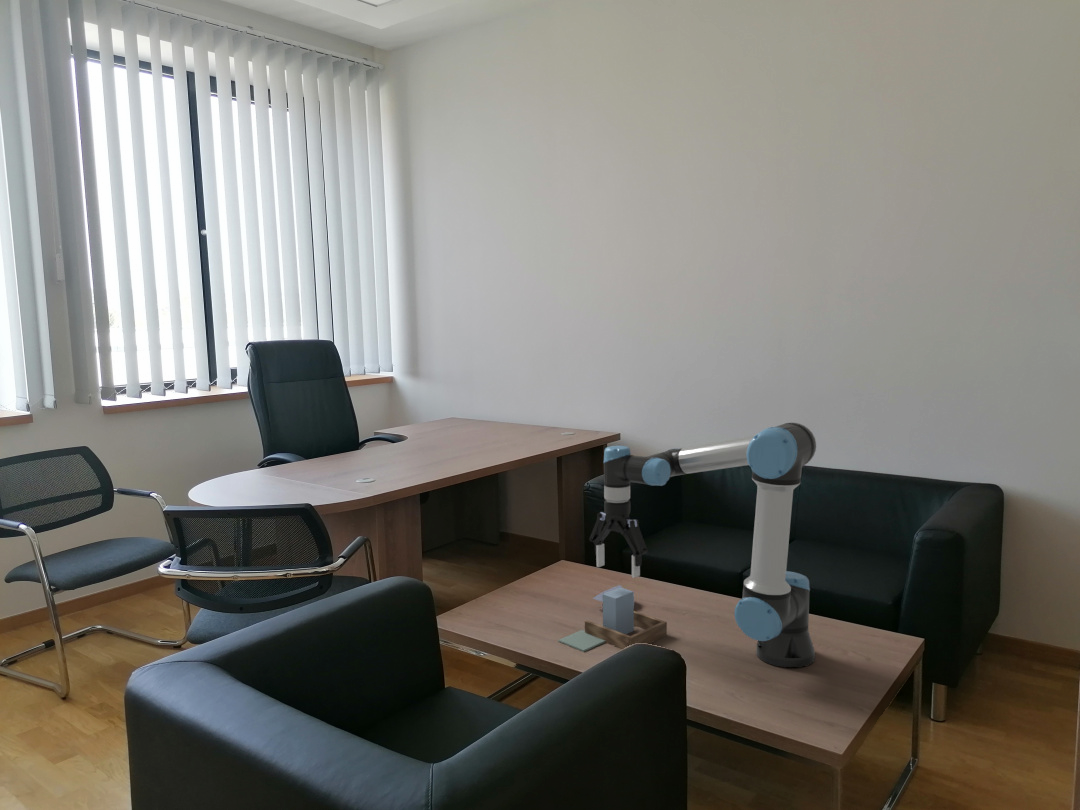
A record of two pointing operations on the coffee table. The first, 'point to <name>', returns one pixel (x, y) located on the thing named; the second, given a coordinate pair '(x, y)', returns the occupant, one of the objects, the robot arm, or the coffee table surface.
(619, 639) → the shelf bay
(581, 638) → the felt pad
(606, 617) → the block
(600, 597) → the wedge on round base
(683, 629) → the coffee table surface
